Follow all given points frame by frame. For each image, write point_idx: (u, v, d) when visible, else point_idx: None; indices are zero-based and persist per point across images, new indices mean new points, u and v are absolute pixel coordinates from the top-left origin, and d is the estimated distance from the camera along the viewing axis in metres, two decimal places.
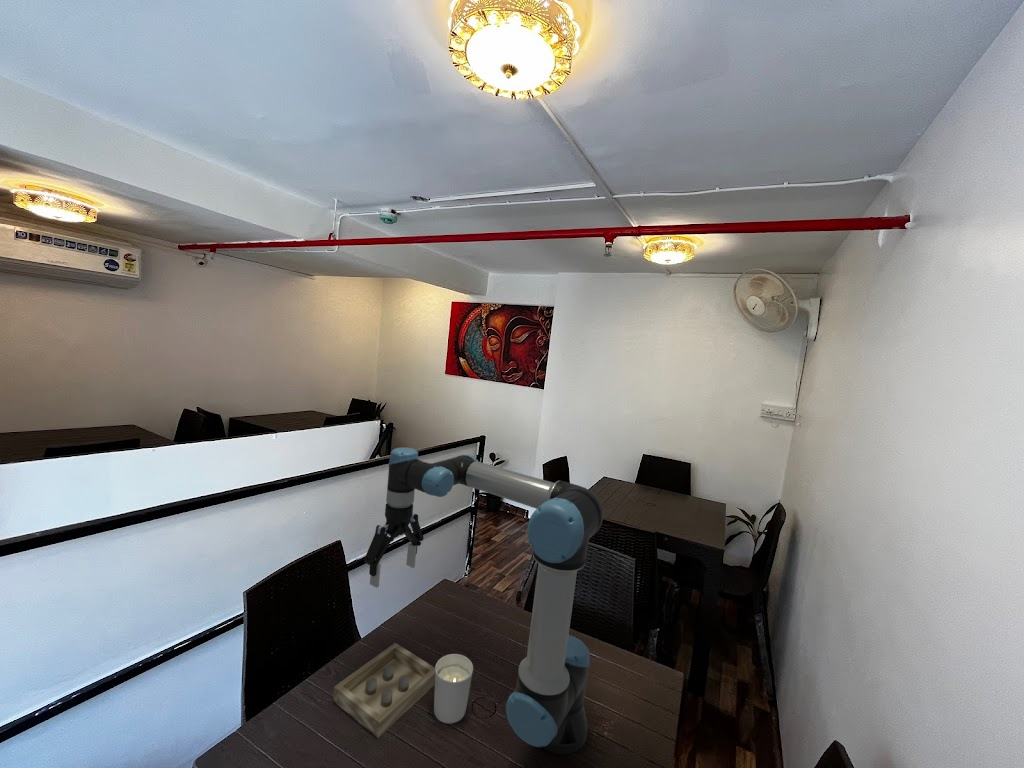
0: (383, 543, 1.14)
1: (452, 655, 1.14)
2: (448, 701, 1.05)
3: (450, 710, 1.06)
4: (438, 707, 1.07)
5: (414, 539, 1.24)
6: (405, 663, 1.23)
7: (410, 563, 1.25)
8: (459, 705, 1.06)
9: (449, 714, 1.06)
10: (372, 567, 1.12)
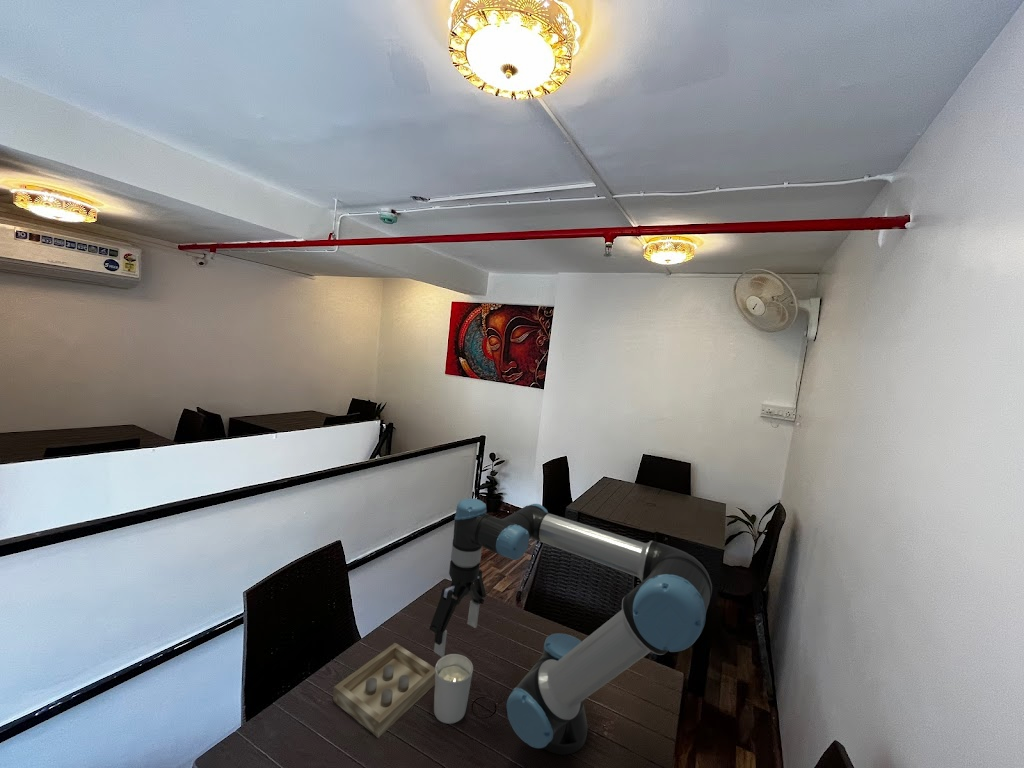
0: (449, 607, 1.03)
1: (452, 655, 1.14)
2: (448, 701, 1.05)
3: (450, 710, 1.06)
4: (438, 707, 1.07)
5: (477, 597, 1.13)
6: (405, 663, 1.23)
7: (472, 623, 1.14)
8: (459, 705, 1.06)
9: (449, 714, 1.06)
10: (438, 635, 1.01)
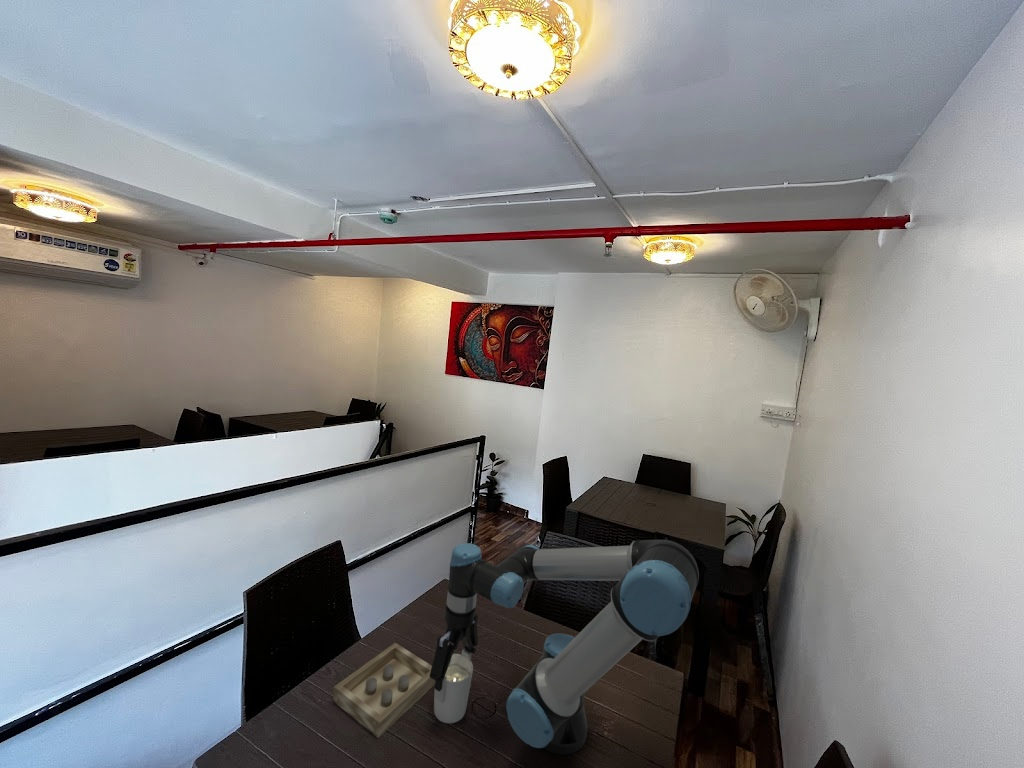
0: (446, 654, 1.05)
1: (452, 655, 1.14)
2: (448, 701, 1.05)
3: (450, 710, 1.06)
4: (438, 707, 1.07)
5: (470, 645, 1.12)
6: (405, 663, 1.23)
7: None
8: (459, 705, 1.06)
9: (449, 714, 1.06)
10: (438, 682, 1.04)
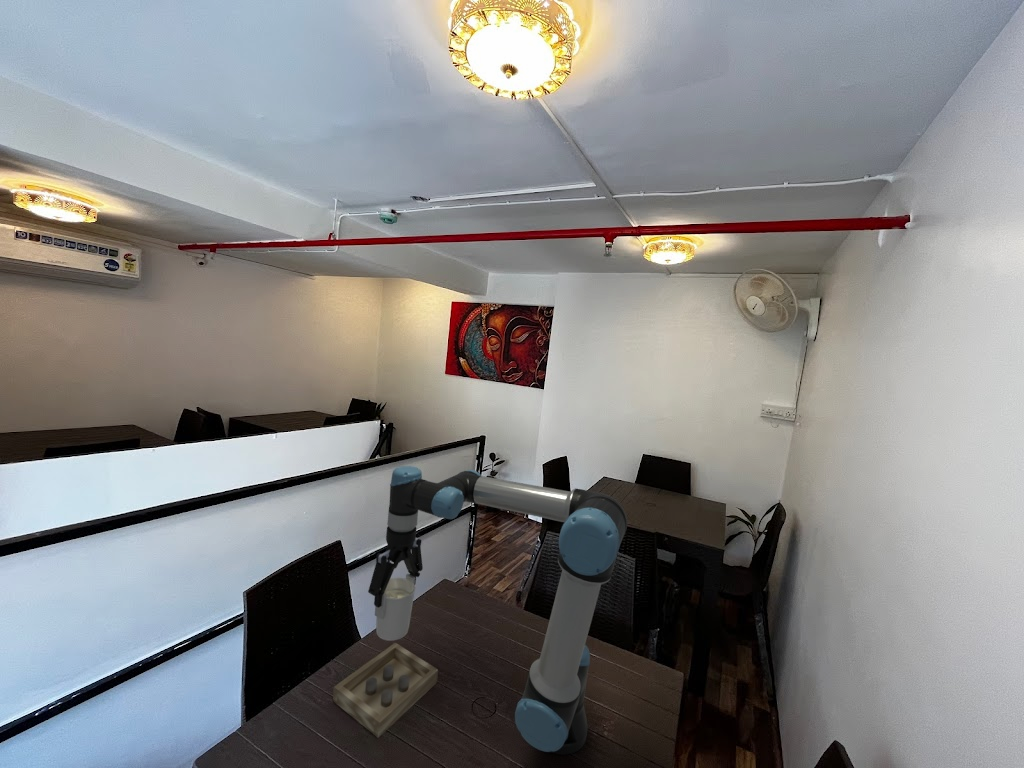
0: (386, 571, 1.07)
1: (396, 579, 1.16)
2: (388, 618, 1.07)
3: (390, 627, 1.08)
4: (379, 624, 1.09)
5: (413, 568, 1.14)
6: (405, 663, 1.23)
7: None
8: (399, 622, 1.08)
9: (389, 631, 1.08)
10: (377, 598, 1.06)
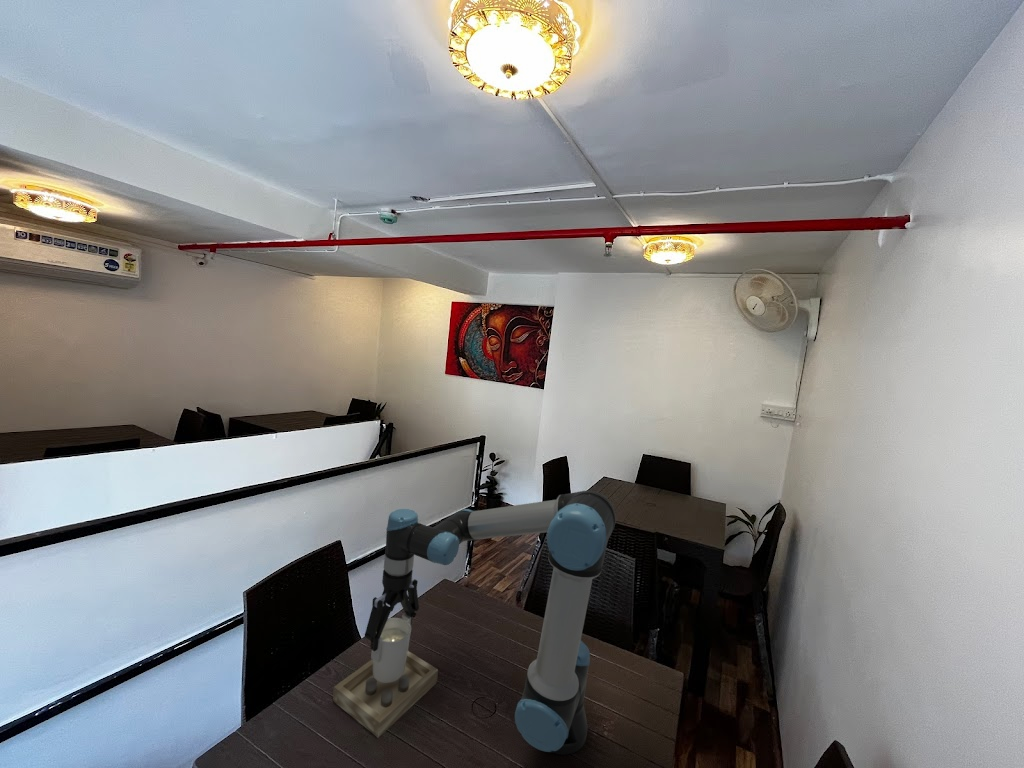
0: (382, 615, 1.08)
1: (393, 619, 1.17)
2: (384, 661, 1.08)
3: (386, 669, 1.09)
4: (375, 667, 1.10)
5: (410, 609, 1.15)
6: None
7: None
8: (395, 665, 1.09)
9: (385, 673, 1.09)
10: (373, 642, 1.07)
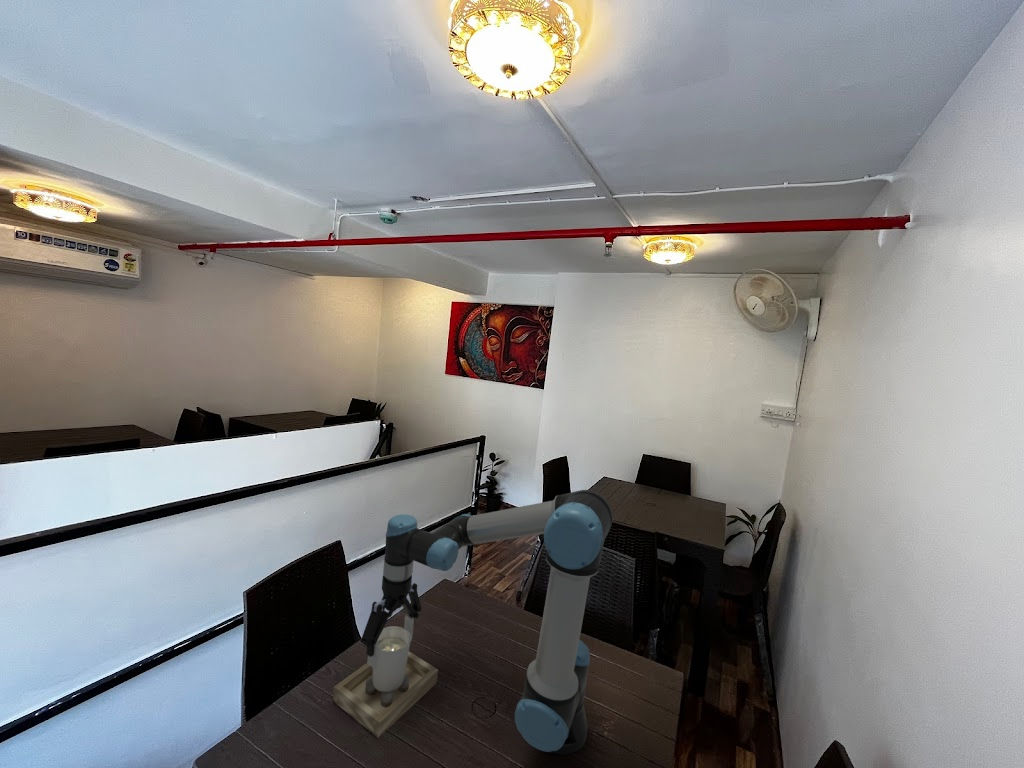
0: (380, 620, 1.08)
1: (392, 627, 1.17)
2: (384, 670, 1.09)
3: (386, 678, 1.09)
4: (375, 676, 1.10)
5: (412, 611, 1.16)
6: None
7: None
8: (395, 674, 1.10)
9: (385, 682, 1.09)
10: (369, 647, 1.06)
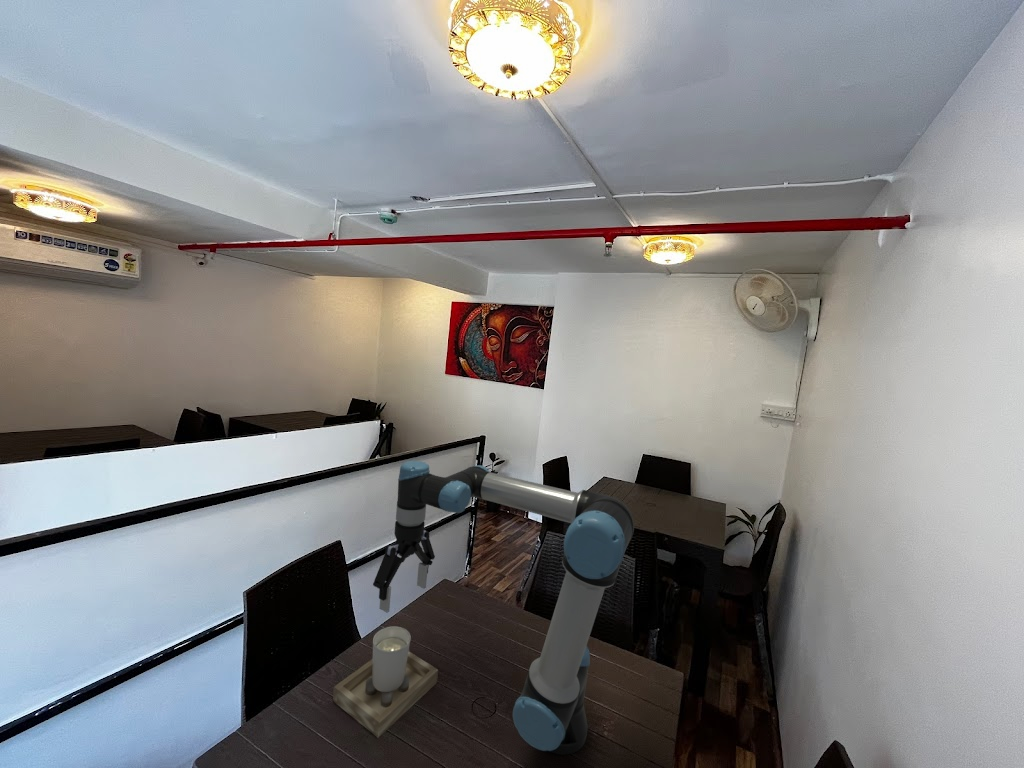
0: (393, 564, 1.07)
1: (392, 627, 1.17)
2: (384, 670, 1.09)
3: (386, 679, 1.09)
4: (374, 676, 1.10)
5: (425, 558, 1.16)
6: None
7: (421, 584, 1.17)
8: (395, 674, 1.10)
9: (385, 683, 1.09)
10: (382, 591, 1.04)
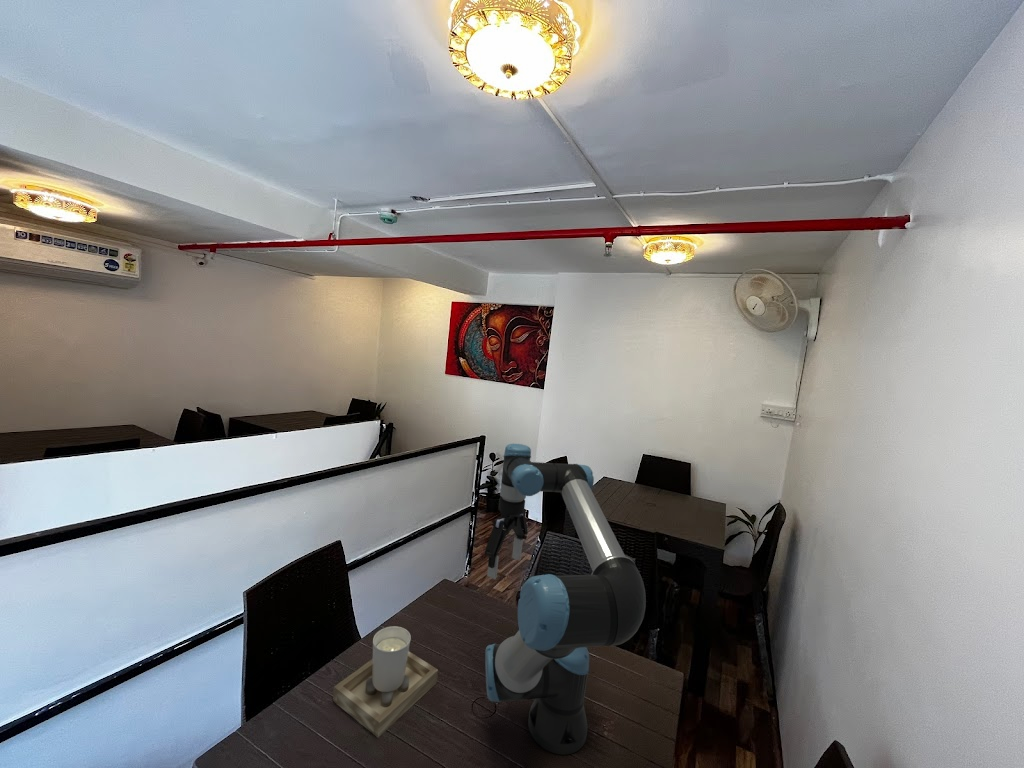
0: (500, 536, 1.18)
1: (392, 627, 1.17)
2: (384, 670, 1.09)
3: (386, 679, 1.09)
4: (374, 676, 1.10)
5: (521, 533, 1.27)
6: None
7: (516, 556, 1.29)
8: (395, 674, 1.10)
9: (385, 683, 1.09)
10: (491, 559, 1.16)
